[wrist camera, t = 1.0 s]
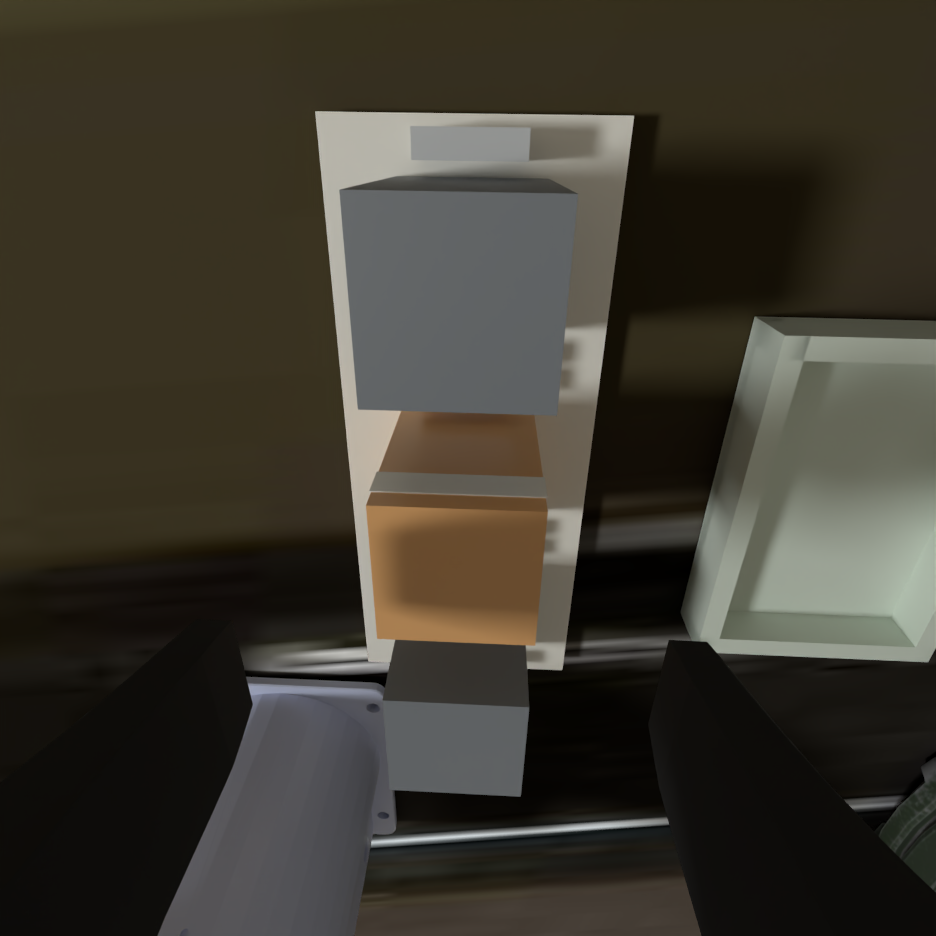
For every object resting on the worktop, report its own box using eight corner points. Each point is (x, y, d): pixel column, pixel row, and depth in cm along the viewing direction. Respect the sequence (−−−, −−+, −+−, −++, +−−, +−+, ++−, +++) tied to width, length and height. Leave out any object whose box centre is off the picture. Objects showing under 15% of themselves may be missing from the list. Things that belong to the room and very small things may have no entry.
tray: (893, 621, 20) (927, 661, 18) (680, 612, 20) (695, 652, 18) (1039, 323, 15) (1104, 343, 13) (754, 316, 15) (785, 335, 13)
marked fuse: (525, 511, 18) (536, 646, 13) (409, 506, 18) (375, 639, 13) (533, 401, 16) (549, 511, 11) (404, 397, 16) (364, 504, 11)
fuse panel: (560, 657, 21) (582, 827, 16) (371, 649, 21) (329, 813, 16) (628, 117, 13) (718, 93, 8) (322, 113, 13) (205, 86, 8)
